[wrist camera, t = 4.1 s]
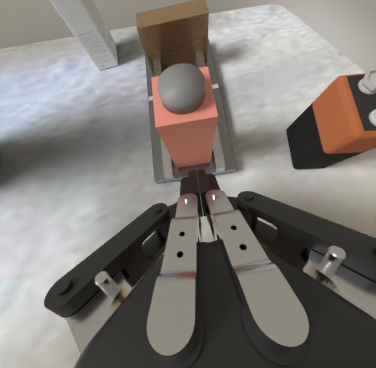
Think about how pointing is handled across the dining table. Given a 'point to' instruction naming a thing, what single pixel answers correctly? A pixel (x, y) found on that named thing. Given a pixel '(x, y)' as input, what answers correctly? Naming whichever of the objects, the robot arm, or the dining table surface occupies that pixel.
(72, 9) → the skincare box
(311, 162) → the battery
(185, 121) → the pink dome-topped pillar
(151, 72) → the rail
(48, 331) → the dining table surface
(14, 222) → the dining table surface
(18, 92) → the dining table surface
